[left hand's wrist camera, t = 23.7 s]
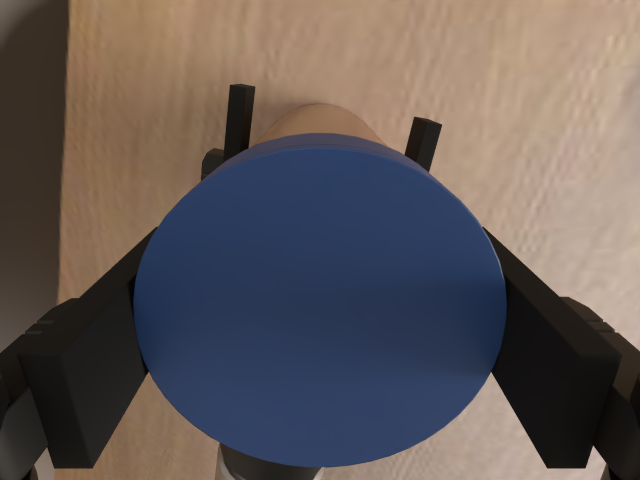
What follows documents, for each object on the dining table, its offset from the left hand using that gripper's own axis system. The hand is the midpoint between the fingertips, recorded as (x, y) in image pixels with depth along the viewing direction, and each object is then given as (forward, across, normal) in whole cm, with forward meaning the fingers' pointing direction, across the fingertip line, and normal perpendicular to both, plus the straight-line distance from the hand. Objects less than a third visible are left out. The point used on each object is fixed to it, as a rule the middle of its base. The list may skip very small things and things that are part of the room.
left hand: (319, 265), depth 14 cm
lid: (-4, 0, 0) cm, 4 cm away
